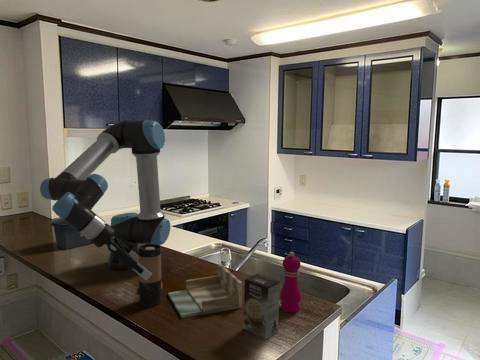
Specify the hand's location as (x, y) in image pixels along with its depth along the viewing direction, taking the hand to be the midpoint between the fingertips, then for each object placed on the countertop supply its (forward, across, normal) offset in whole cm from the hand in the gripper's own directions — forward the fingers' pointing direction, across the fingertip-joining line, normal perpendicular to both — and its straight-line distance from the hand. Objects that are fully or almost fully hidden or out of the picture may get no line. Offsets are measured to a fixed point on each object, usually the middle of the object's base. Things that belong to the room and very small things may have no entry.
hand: (145, 270), depth 128 cm
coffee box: (+29, +31, +12) cm, 44 cm away
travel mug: (+10, -1, -8) cm, 12 cm away
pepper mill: (+40, +22, +23) cm, 51 cm away
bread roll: (+12, -13, -6) cm, 18 cm away
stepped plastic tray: (+22, +5, +5) cm, 23 cm away
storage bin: (-7, -86, -25) cm, 89 cm away
